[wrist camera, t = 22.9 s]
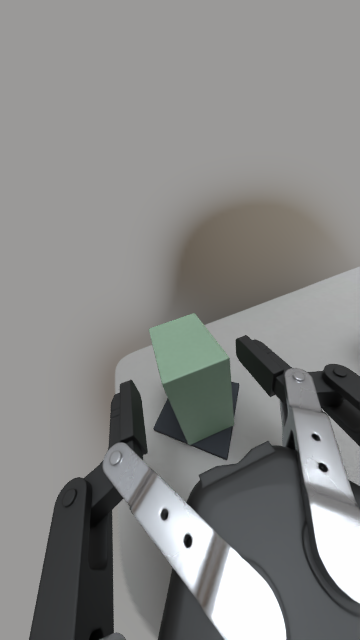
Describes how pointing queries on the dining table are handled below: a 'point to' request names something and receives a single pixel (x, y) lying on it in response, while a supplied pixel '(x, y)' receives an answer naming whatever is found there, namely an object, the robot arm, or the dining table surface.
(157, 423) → the rubber mat
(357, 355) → the dining table surface
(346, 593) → the robot arm
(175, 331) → the green rectangular block
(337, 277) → the dining table surface
